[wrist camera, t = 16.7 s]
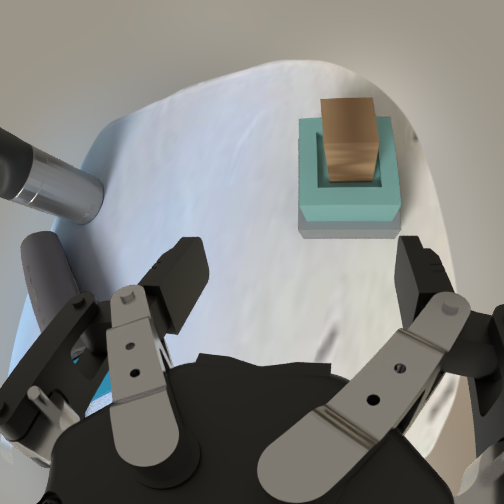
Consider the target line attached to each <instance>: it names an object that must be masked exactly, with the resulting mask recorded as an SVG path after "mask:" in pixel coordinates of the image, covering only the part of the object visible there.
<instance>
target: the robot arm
mask: <svg viewBox="0 0 504 504" xmlns="http://www.w3.org/2000/svg"><path fill="white" fill-rule="evenodd" d="M0 197H1V198H4V199H7V200H9V201H12V202H15V203H18V204H21V205H24V206H27V207H30V208H33V209H36V210H39V211H42V212H45V213H48V214H51V215H54V216H57V217H60V218H63V219H65V220H69V221H72V222H75V223H78V224H86V223H88V222H90V221H91V220H92V219H93V218H94V217H95V216H96V214H97V213H98V211H99V209H100V207H101V204H102V201H103V186H102V184H101V182H100V181H99V180H98V179H96V178H94V177H92V176H90V175H89V174H87V173H85V172H83V171H81V170H79V169H77V168H75V167H73V166H71V165H69V164H67V163H66V162H64V161H62V160H60V159H58V158H55V157H53V156H52V155H50V154H48V153H46V152H43V151H42V150H39V149H38V148H36V147H34V146H32V145H30V144H28V143H26V142H24V141H23V140H21V139H19V138H18V137H16V136H15V135H13V134H11V133H9V132H7V131H5V130H4V129H2V128H0ZM208 280H209V267H208V263H207V259H206V255H205V250H204V246H203V242H202V240H201V238H200V237H182V238H181V239H180V240H179V241H178V243H177V244H176V245H175V246H174V247H173V248H172V249H170V250H169V251H167V252H166V253H164V254H163V255H162V256H161V257H160V258H159V259H158V260H157V263H155V264H154V265H153V266H152V269H150V270H149V271H148V272H147V274H146V275H145V276H144V277H143V278H142V280H141V281H140V282H139V283H138V284H137V285H129V286H126V287H123V288H121V289H119V290H118V291H117V292H115V293H114V294H113V296H112V297H111V301H105V302H98V303H97V301H96V299H95V297H94V295H93V294H92V293H90V292H84V293H80V294H78V295H76V296H74V297H72V298H71V299H70V300H69V301H68V302H67V303H66V304H65V305H64V307H63V308H62V309H61V310H60V311H59V313H58V314H57V315H56V316H55V317H54V319H53V320H52V321H51V322H50V323H49V325H48V326H47V327H46V328H45V330H44V331H43V332H42V333H41V335H40V336H39V337H38V338H37V340H36V341H35V342H34V343H33V345H32V346H31V347H30V349H29V350H28V351H27V353H26V354H25V355H24V356H23V358H22V359H21V360H20V362H19V363H18V364H17V366H16V367H15V369H14V370H13V371H12V373H11V374H10V375H9V377H8V378H7V380H6V381H5V383H4V384H3V385H2V387H1V388H0V433H1V434H2V435H3V436H4V437H5V439H6V440H7V441H9V442H10V443H11V444H12V445H13V446H14V447H16V448H17V449H18V450H19V451H20V452H22V453H23V454H24V455H26V456H27V457H29V458H31V459H32V460H33V461H35V462H36V463H37V464H38V465H40V466H41V467H44V468H50V472H49V478H48V483H47V487H46V491H45V494H44V495H43V497H42V498H41V500H40V501H39V502H38V503H37V504H504V304H502V305H499V306H497V307H496V308H495V310H494V312H493V314H492V315H487V314H482V313H477V312H474V311H472V310H471V308H470V305H469V303H468V302H467V300H466V299H465V298H464V297H462V296H461V295H459V294H456V293H455V292H454V290H453V287H452V285H451V282H450V280H449V278H448V276H447V273H446V272H445V269H444V267H443V265H442V262H441V260H440V258H439V256H438V255H437V254H436V253H435V252H434V251H433V250H431V249H430V248H423V246H422V244H421V242H420V239H419V237H418V236H399V238H398V246H397V255H396V264H395V275H394V280H395V288H396V293H397V298H398V303H399V308H400V314H401V319H402V325H403V329H402V328H400V329H398V330H397V331H396V332H395V334H394V335H393V336H392V337H391V338H390V339H389V340H388V342H387V343H386V344H385V345H384V346H383V347H382V348H381V349H380V350H379V352H378V353H377V354H376V355H375V356H374V357H373V358H372V359H371V360H370V361H369V362H368V363H367V364H366V365H365V366H364V368H363V369H362V370H361V371H360V372H359V373H358V374H357V375H356V376H355V377H354V378H353V379H352V380H351V381H350V380H348V379H346V378H344V377H341V376H338V375H335V374H331V363H306V362H294V363H287V364H279V365H271V366H256V365H253V364H250V363H247V362H244V361H241V360H238V359H235V358H232V357H228V356H219V355H211V354H203V353H199V356H198V358H197V360H196V362H194V363H187V364H183V365H179V366H176V367H174V365H173V362H172V359H171V356H170V353H169V350H168V347H167V343H166V341H165V339H164V336H165V335H166V333H168V334H175V335H178V334H179V332H180V330H181V328H182V327H183V325H184V323H185V321H186V319H187V318H188V316H189V314H190V312H191V311H192V309H193V307H194V305H195V304H196V302H197V300H198V298H199V297H200V295H201V293H202V291H203V290H204V288H205V286H206V284H207V282H208ZM80 337H81V338H82V340H83V342H84V343H85V345H86V348H85V350H84V351H83V353H82V354H81V356H80V357H79V359H78V360H77V362H76V363H74V362H73V360H72V358H71V350H72V348H73V346H74V345H75V343H76V342H77V341H78V339H79V338H80ZM108 371H109V372H110V382H111V390H112V398H113V402H112V403H111V404H109V405H107V406H105V407H104V408H102V409H100V410H98V411H97V412H95V413H93V414H91V415H89V416H88V417H86V418H84V419H82V417H83V415H84V413H85V412H86V410H87V408H88V406H89V404H90V402H91V401H92V399H93V397H94V395H95V394H96V392H97V390H98V388H99V387H100V385H101V383H102V381H103V380H104V378H105V376H106V374H107V373H108ZM446 372H448V373H452V374H457V375H461V376H466V377H467V379H468V385H469V391H470V397H471V404H472V413H473V421H474V431H475V443H476V460H475V461H474V462H473V463H472V464H471V465H470V466H469V467H468V468H467V469H466V471H465V473H464V475H463V479H462V485H461V488H460V491H459V493H458V494H457V496H456V497H453V495H452V492H451V490H450V488H449V487H448V485H447V484H446V483H445V482H444V480H442V478H441V477H440V476H439V475H438V474H437V472H436V471H435V470H434V469H433V468H432V467H431V466H430V465H429V463H428V462H427V461H426V460H425V459H424V458H423V457H422V456H421V454H420V453H419V452H418V451H417V450H416V449H415V448H414V446H413V445H412V444H411V443H410V442H409V441H408V440H407V439H406V437H405V436H404V435H405V434H406V432H407V431H408V430H409V428H410V427H411V425H412V424H413V422H414V421H415V419H416V418H417V416H418V415H419V413H420V411H421V410H422V408H423V407H424V406H425V404H426V403H427V401H428V400H429V398H430V397H431V395H432V394H433V392H434V391H435V389H436V388H437V386H438V385H439V383H440V381H441V380H442V378H443V377H444V375H445V373H446ZM81 419H82V420H81Z"/></svg>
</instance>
